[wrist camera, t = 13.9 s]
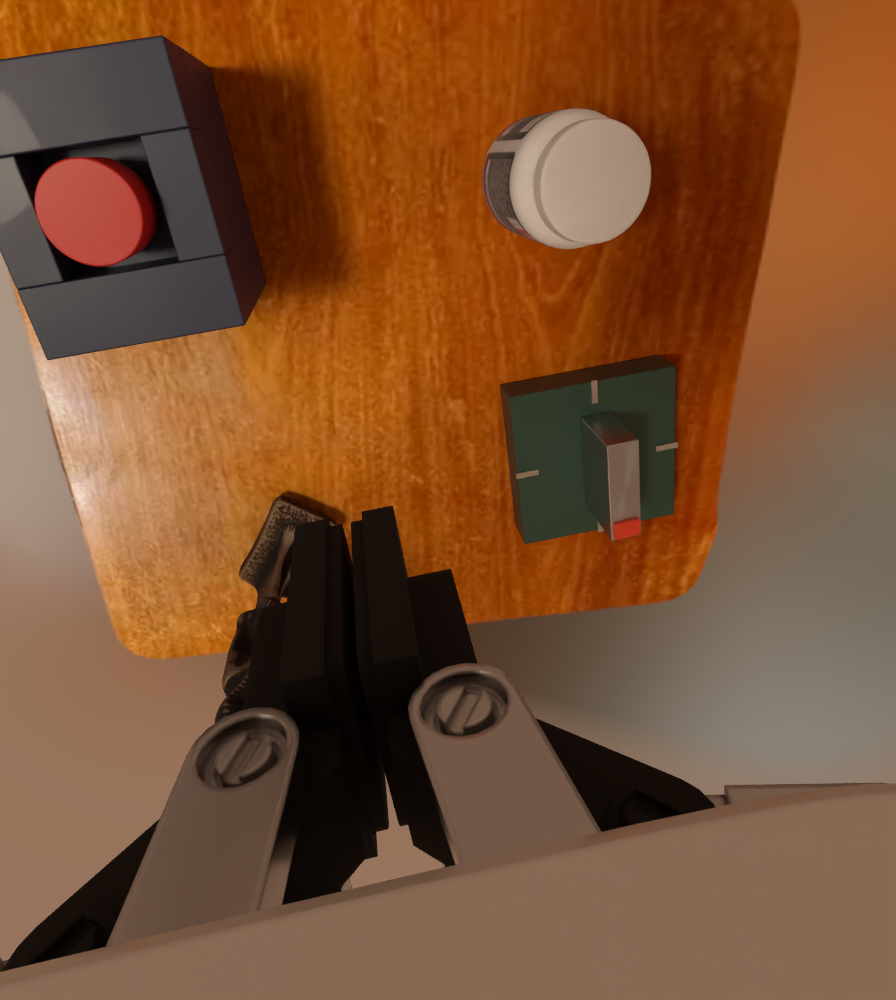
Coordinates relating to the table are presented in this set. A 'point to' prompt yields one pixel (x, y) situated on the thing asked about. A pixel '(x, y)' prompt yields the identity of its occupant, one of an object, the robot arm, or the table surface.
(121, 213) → the red button
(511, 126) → the pill bottle
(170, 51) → the button box
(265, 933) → the robot arm
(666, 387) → the panel
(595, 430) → the tap handle
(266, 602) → the statue
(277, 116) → the table surface
